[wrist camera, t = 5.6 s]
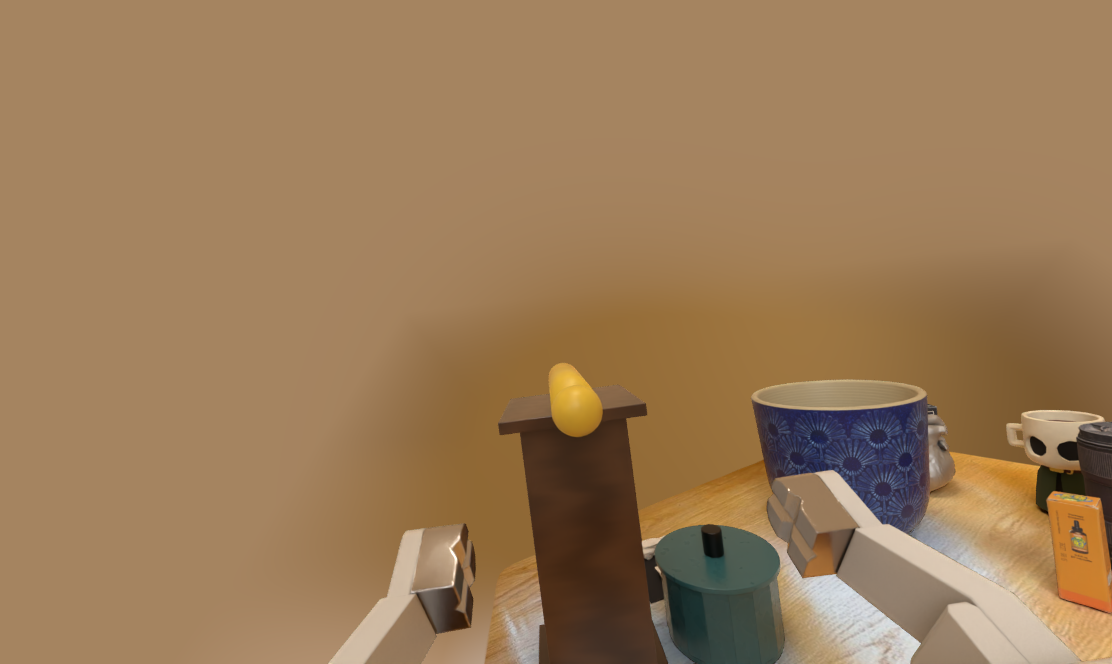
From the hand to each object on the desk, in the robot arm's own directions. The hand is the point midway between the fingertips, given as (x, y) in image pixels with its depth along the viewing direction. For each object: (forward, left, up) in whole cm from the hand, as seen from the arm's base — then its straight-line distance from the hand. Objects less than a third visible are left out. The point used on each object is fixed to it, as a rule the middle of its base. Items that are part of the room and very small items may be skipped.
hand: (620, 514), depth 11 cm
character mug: (+65, +42, -28) cm, 83 cm away
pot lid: (+13, +31, -20) cm, 40 cm away
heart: (+56, +55, -28) cm, 84 cm away
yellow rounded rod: (0, +24, -2) cm, 25 cm away
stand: (0, +28, -28) cm, 40 cm away
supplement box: (+48, +28, -28) cm, 62 cm away
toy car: (+11, +44, -28) cm, 54 cm away
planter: (+38, +47, -28) cm, 67 cm away
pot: (+13, +31, -28) cm, 44 cm away
